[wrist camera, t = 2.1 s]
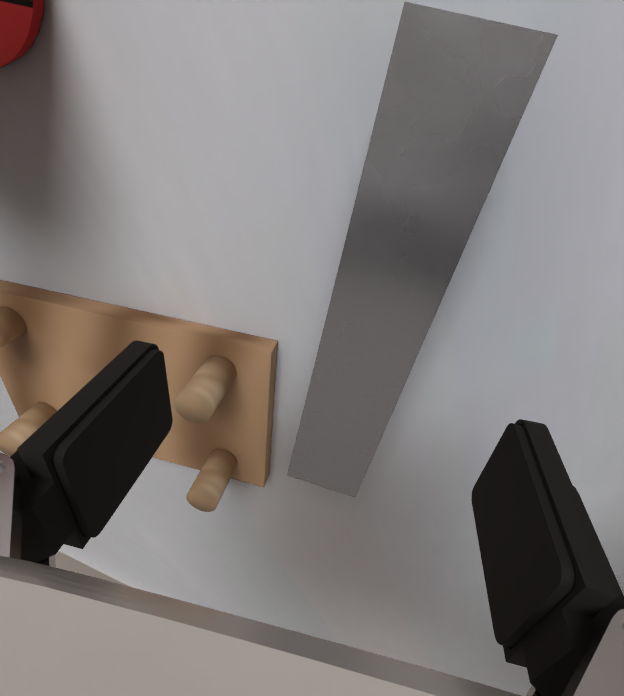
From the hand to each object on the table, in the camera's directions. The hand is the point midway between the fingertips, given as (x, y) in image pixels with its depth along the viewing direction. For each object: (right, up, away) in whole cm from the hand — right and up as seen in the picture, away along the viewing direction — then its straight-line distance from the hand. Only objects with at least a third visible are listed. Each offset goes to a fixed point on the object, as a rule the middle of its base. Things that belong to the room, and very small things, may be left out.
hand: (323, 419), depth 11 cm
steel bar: (+3, +5, +8) cm, 10 cm away
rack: (-13, 0, +16) cm, 21 cm away
